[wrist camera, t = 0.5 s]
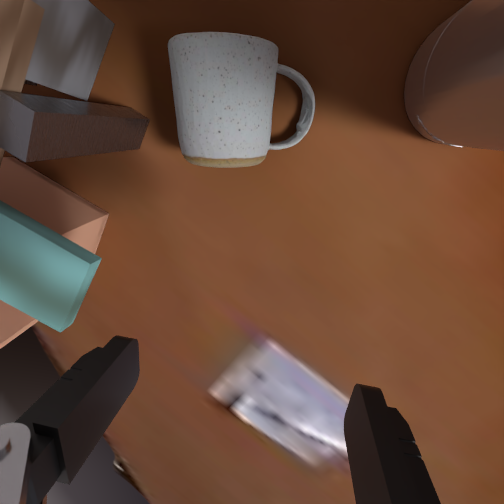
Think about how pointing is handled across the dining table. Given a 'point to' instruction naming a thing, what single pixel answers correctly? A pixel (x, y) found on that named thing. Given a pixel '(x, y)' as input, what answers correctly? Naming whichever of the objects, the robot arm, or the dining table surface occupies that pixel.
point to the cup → (45, 223)
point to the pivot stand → (65, 127)
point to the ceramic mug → (229, 97)
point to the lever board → (3, 215)
